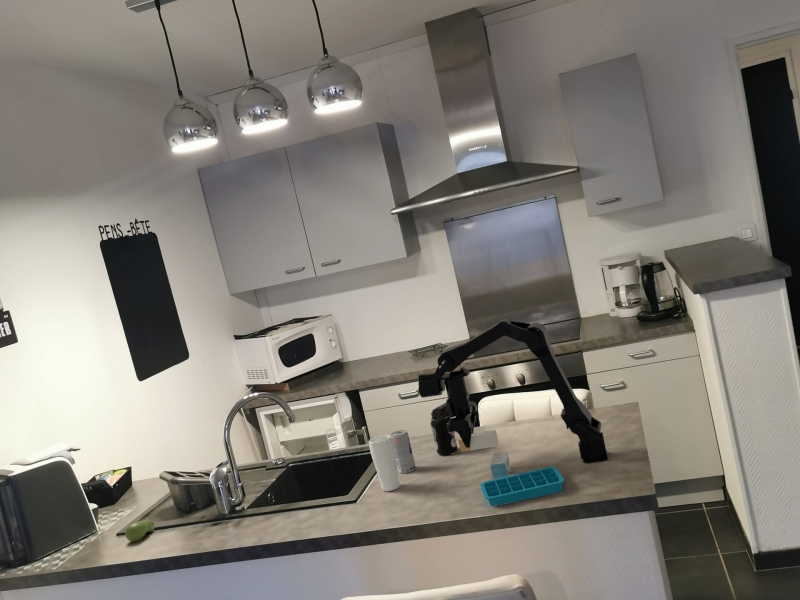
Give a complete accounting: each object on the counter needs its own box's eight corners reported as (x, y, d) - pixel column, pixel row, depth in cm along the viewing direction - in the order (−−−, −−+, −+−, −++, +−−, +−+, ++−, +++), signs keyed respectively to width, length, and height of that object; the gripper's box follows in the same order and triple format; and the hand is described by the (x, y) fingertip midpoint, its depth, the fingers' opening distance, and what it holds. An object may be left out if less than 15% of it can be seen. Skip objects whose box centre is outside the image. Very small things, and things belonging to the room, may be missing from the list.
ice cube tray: (567, 492, 174) (565, 481, 174) (488, 510, 175) (485, 499, 174) (556, 476, 186) (554, 465, 186) (481, 493, 186) (479, 482, 186)
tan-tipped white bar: (498, 441, 202) (495, 429, 202) (497, 446, 198) (494, 434, 198) (462, 446, 205) (460, 435, 205) (460, 451, 201) (458, 440, 201)
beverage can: (450, 456, 219) (442, 419, 218) (433, 456, 224) (425, 420, 222) (461, 448, 225) (453, 412, 224) (444, 448, 229) (436, 413, 228)
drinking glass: (375, 493, 203) (363, 443, 201) (386, 483, 209) (375, 435, 207) (396, 493, 200) (384, 442, 198) (406, 483, 205) (395, 433, 204)
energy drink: (416, 465, 219) (408, 428, 217) (415, 471, 213) (406, 434, 212) (399, 468, 219) (391, 432, 218) (398, 475, 214) (389, 437, 213)
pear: (119, 526, 208) (142, 517, 217) (122, 544, 208) (144, 534, 217) (135, 524, 206) (157, 515, 216) (138, 543, 206) (159, 532, 215)
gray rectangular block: (511, 469, 197) (507, 451, 196) (509, 482, 188) (504, 463, 188) (497, 471, 198) (493, 453, 197) (494, 484, 189) (490, 465, 189)
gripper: (435, 388, 212) (447, 438, 213) (423, 406, 194) (436, 460, 195) (471, 382, 209) (483, 432, 211) (463, 400, 191) (475, 454, 193)
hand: (469, 444), depth 202 cm, fingers closed on tan-tipped white bar, 4 cm apart
